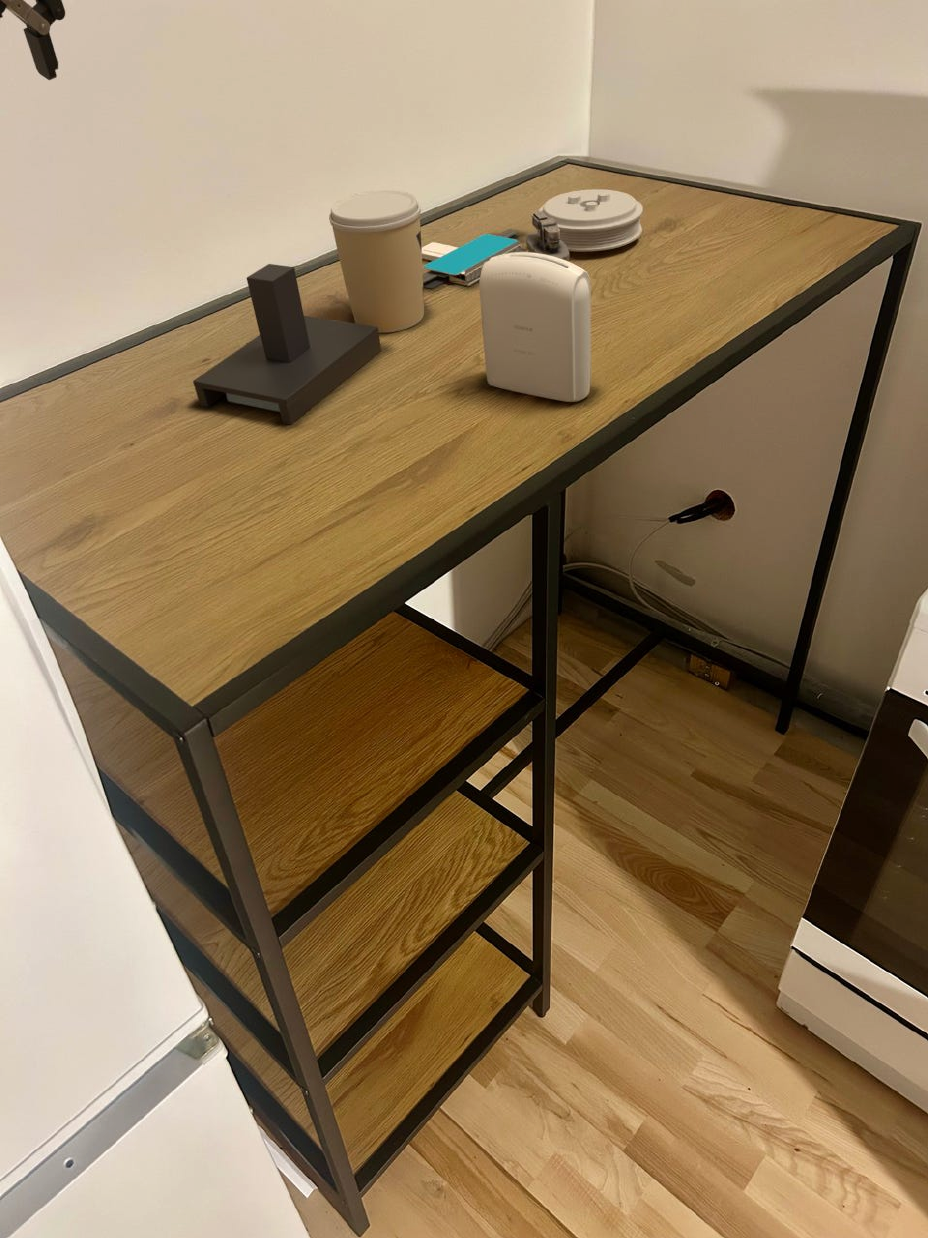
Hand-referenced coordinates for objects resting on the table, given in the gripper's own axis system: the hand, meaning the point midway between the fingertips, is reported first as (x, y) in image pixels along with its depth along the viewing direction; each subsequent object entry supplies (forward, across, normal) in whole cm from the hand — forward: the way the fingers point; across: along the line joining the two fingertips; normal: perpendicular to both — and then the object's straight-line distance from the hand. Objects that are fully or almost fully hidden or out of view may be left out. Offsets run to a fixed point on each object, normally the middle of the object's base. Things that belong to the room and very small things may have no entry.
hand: (6, 92), depth 82 cm
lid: (+24, -51, +32) cm, 65 cm away
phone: (+20, -7, +28) cm, 34 cm away
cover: (+20, -7, +28) cm, 34 cm away
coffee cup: (+22, -22, +26) cm, 40 cm away
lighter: (+19, -32, +40) cm, 55 cm away
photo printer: (+15, -19, +49) cm, 54 cm away
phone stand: (+25, -38, +22) cm, 51 cm away
